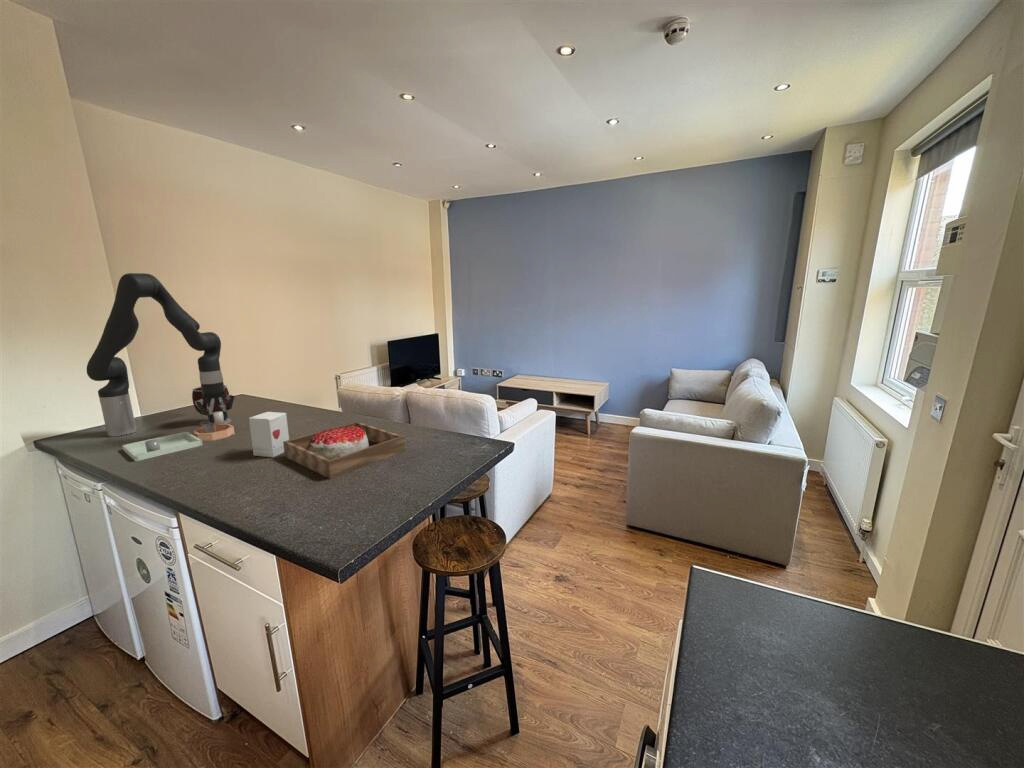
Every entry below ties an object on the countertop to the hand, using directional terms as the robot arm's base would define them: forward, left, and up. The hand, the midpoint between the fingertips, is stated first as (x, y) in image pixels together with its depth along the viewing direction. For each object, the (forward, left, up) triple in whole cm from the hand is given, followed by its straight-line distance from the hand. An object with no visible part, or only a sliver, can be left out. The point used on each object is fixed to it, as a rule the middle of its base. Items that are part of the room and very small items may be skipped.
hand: (218, 421), depth 168 cm
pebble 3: (0, 0, -1) cm, 1 cm away
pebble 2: (-4, -3, -6) cm, 8 cm away
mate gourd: (-25, +6, -8) cm, 27 cm away
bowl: (-2, -2, -7) cm, 8 cm away
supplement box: (+35, +5, -8) cm, 36 cm away
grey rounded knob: (+4, -23, -6) cm, 24 cm away
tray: (-2, -19, -7) cm, 20 cm away
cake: (+55, +19, -8) cm, 59 cm away
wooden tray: (+59, +21, -7) cm, 63 cm away
